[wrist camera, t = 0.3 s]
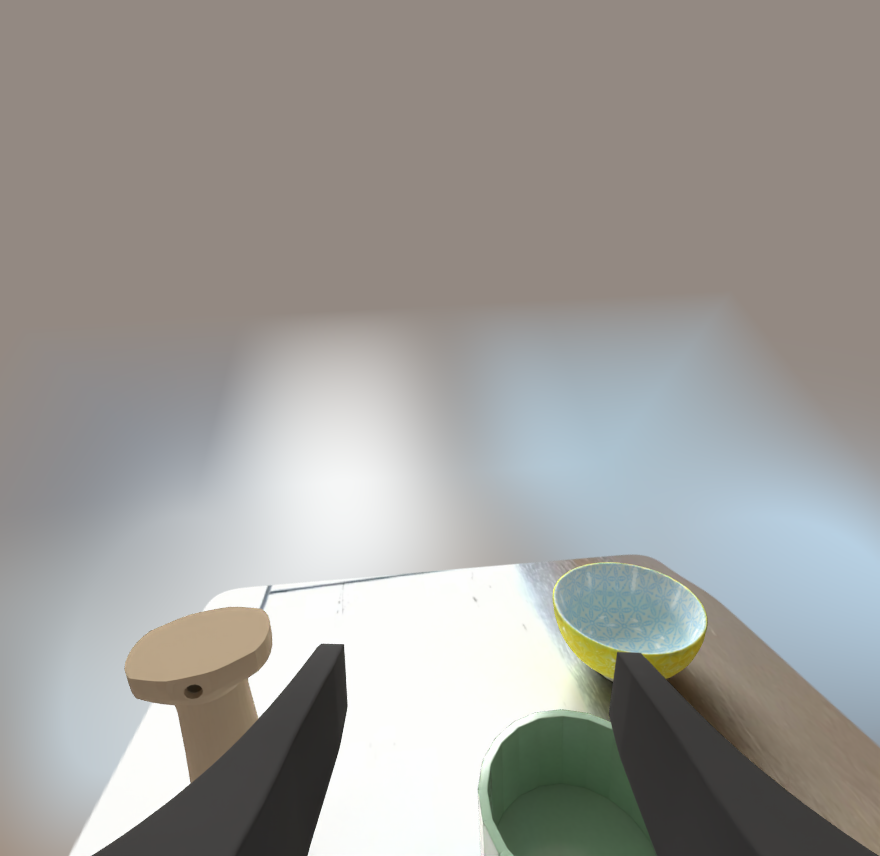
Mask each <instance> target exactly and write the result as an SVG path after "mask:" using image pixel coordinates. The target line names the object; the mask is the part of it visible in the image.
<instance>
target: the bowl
mask: <svg viewBox="0 0 880 856" xmlns="http://www.w3.org/2000/svg"><path fill="white" fill-rule="evenodd" d="M553 605H554V613H555V617H556V620H557V623H558V626H559V629H560V632H561V634H562V636H563V638H564V639H565V641H566V643H567V644H568V646H569V647H570V648H571V650H572V651H573V652H574V653H575V654H576V655H577V657H578V658H579V659H580V660H581V661H583V662H584V663H585V664H587V665H588V666H589V667H591V668H592V669H594V670H595V671H597V672H598V673H600V674H602V675H603V676H604V677H605V678H607V679H609V680H610V681H612V682H613V679H614V672H615V664H616V656H617V652H636V653H641V654H642V655H643V656H644V657H645V658H646V659H647V660H648V661H649V662H650V663H651V664H652V665H653V666H654V667H655V668H656V669H657V670H658V671H659V672H660V674H661V675H662V676H663V677H664V678H665V679H667V678H670V677H672V676H674V675H675V674H677V673H679V672H680V671H682V670H683V669H684V668H685V667H686V666H688V665H689V664H690V663H691V661H692V660H693V659H694V657H695V656H696V654H697V653H698V651H699V649H700V647H701V645H702V643H703V641H704V637H705V633H706V630H707V623H708V622H707V615H706V612H705V609H704V607H703V605H702V604H701V602H700V601H699V599H698V598H697V597H696V596H695V595H694V594H693V593H692V592H691V591H690V590H689V589H688V588H686V587H685V586H684V585H682V584H681V583H679V582H678V581H676V580H674V579H673V578H671V577H669V576H667V575H664V574H662V573H660V572H657V571H654V570H651V569H648V568H645V567H641V566H636V565H631V564H624V563H612V562H603V563H594V564H588V565H584V566H580V567H578V568H575V569H573V570H571V571H569V572H567V573H566V574H564V575H563V576H562V577H561V578H560V579H559V580H558V582H557V583H556V585H555V588H554V590H553Z"/></svg>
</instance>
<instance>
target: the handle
mask: <svg viewBox="0 0 880 856" xmlns="http://www.w3.org/2000/svg"><path fill="white" fill-rule="evenodd" d="M271 648H272V632H271V626H270V621H269V617H268V615H267V614H266V612H265V611H263V610H262V609H257V608H246V607H227V608H220V609H214V610H209V611H204V612H199V613H195V614H191V615H188V616H186V617H182V618H180V619H177V620H175V621H172V622H170V623H168V624H165V625H163V626H161V627H158V628H156V629H154V630H151V631H150V632H149V633H147V634H146V635H145V636H143V637H142V638H141V639H140V640H139V641H138V642H137V643H136V644H135V646H134V647H133V648H132V650H131V652H130V653H129V655H128V657H127V660H126V662H125V673H126V676H127V679H128V683H129V686H130V689H131V691H132V693H133V694H134V696H135V697H136V698H137V699H141V700H144V701H149V702H153V703H160V704H167V705H175V707H176V709H177V712H178V717H179V722H180V727H181V732H182V737H183V742H184V747H185V752H186V758H187V764H188V770H189V776H190V782H191V783H192V782H193V781H194V780H195V779H197V778H198V777H199V776H200V775H201V774H202V773H204V772H205V771H206V770H207V769H208V768H209V767H210V766H212V765H213V764H214V763H215V762H216V761H217V760H218V759H219V758H220V757H221V756H222V755H223V754H224V753H226V752H227V751H228V750H229V749H230V748H231V747H232V746H233V745H234V744H235V743H236V742H237V741H238V740H239V739H240V738H241V737H242V736H243V735H244V734H245V733H246V732H247V730H248V729H249V728H250V727H251V726H252V725H253V724H254V723H255V722H256V721H257V720H258V716H257V712H256V709H255V705H254V701H253V698H252V694H251V690H250V687H249V683H248V677H250V676H251V675H253V674H254V673H256V672H257V671H259V669H260V668H261V667H262V666H263V665H264V664H265V662H266V661H267V659H268V657H269V655H270V653H271Z"/></svg>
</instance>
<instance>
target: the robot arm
mask: <svg viewBox="0 0 880 856" xmlns="http://www.w3.org/2000/svg"><path fill="white" fill-rule="evenodd" d="M346 712H347V689H346V672H345V654H344V644H321V645H319V646H318V647H317V648H316V650H315V651H314V652H313V654H312V655H311V656H310V658H309V659H308V660H307V662H306V663H305V664H304V666H303V667H302V668H301V669H300V671H299V672H298V673H297V674H296V676H295V677H294V678H293V679H292V681H291V682H290V683H289V684H288V686H287V687H286V688H285V689H284V690H283V691H282V693H281V694H280V695H279V696H278V697H277V699H276V700H275V701H274V702H273V703H272V704H271V706H270V707H269V708H268V709H267V710H266V711H265V712H264V713H263V714H262V715H261V717H260V718H259V719H258V720H257V721H256V722H255V723H254V724H253V725H252V726H251V727H250V728H249V729H248V730H247V732H246V733H245V734H244V735H243V736H242V737H241V738H240V739H239V740H238V741H237V742H236V743H235V744H234V745H233V746H232V747H231V748H230V749H229V750H228V751H227V752H226V753H224V754H223V755H222V756H221V757H220V758H219V759H218V760H217V761H216V762H215V763H214V764H213V765H212V766H210V767H209V768H208V769H207V770H206V771H205V772H204V773H202V774H201V775H200V776H199V777H198V778H197V779H195V780H194V781H193V782H192V783H191V784H190V785H188V786H187V787H186V788H185V789H184V790H183V791H181V792H180V793H179V794H178V795H176V796H175V797H174V798H173V799H171V800H170V801H169V802H168V803H166V804H165V805H164V806H163V807H161V808H160V809H158V810H157V811H156V812H154V813H153V814H152V815H150V816H149V817H148V818H146V819H145V820H144V821H142V822H141V823H140V824H138V825H137V826H135V827H134V828H133V829H131V830H130V831H128V832H127V833H125V834H124V835H123V836H121V837H120V838H118V839H117V840H115V841H114V842H112V843H111V844H109V845H108V846H106V847H105V848H103V849H102V850H100V851H98V852H97V853H95V854H94V855H92V856H307V855H308V852H309V848H310V844H311V841H312V838H313V834H314V831H315V828H316V824H317V821H318V818H319V815H320V811H321V808H322V805H323V801H324V798H325V795H326V792H327V788H328V785H329V782H330V778H331V775H332V772H333V768H334V765H335V762H336V758H337V755H338V751H339V748H340V743H341V738H342V733H343V728H344V723H345V717H346ZM609 717H610V721H611V725H612V729H613V733H614V737H615V741H616V745H617V748H618V752H619V756H620V759H621V762H622V764H623V767H624V770H625V772H626V775H627V778H628V780H629V783H630V786H631V789H632V791H633V794H634V796H635V799H636V802H637V804H638V807H639V810H640V812H641V815H642V818H643V820H644V823H645V825H646V828H647V831H648V833H649V836H650V839H651V841H652V844H653V846H654V849H655V852H656V854H657V856H878V855H877V854H875V853H874V852H872V851H871V850H869V849H867V848H866V847H864V846H863V845H861V844H860V843H859V842H857V841H856V840H854V839H853V838H851V837H850V836H848V835H847V834H845V833H844V832H842V831H841V830H839V829H838V828H837V827H835V826H834V825H832V824H831V823H830V822H828V821H827V820H825V819H824V818H823V817H821V816H820V815H819V814H817V813H816V812H814V811H813V810H812V809H810V808H809V807H807V806H806V805H805V804H803V803H802V802H801V801H800V800H798V799H797V798H796V797H794V796H793V795H792V794H790V793H789V792H788V791H786V790H785V789H784V788H783V787H782V786H780V785H779V784H778V783H777V782H775V781H774V780H773V779H772V778H770V777H769V776H768V775H767V774H765V773H764V772H763V771H762V770H761V769H759V768H758V767H757V766H756V765H755V764H753V763H752V762H751V761H750V760H749V759H748V758H746V757H745V756H744V755H743V754H742V753H741V752H740V751H739V750H737V749H736V748H735V747H734V746H733V745H732V744H731V743H730V742H729V741H728V740H726V739H725V738H724V737H723V736H722V735H721V734H720V733H719V732H718V731H717V730H716V729H715V728H714V727H713V726H711V725H710V724H709V723H708V722H707V721H706V720H705V719H704V718H703V717H702V716H701V715H700V714H699V713H698V712H697V711H696V710H695V709H694V708H693V707H692V706H691V705H690V704H689V703H688V702H687V701H686V700H685V699H684V698H683V697H682V696H681V695H680V694H679V692H678V691H677V690H676V689H675V688H674V687H673V686H672V685H671V684H670V683H669V682H668V681H667V680H666V679H665V678H664V677H663V676H662V675H661V674H660V672H659V671H658V670H657V669H656V668H655V667H654V666H653V665H652V664H651V663H650V662H649V661H648V660H647V659H646V658H645V657H644V656H643V655H642V654H641V653H636V652H617V656H616V664H615V672H614V679H613V687H612V694H611V702H610V710H609Z"/></svg>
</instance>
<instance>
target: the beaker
mask: <svg viewBox="0 0 880 856" xmlns="http://www.w3.org/2000/svg"><path fill="white" fill-rule="evenodd" d="M478 805H479V827H480V849H481V856H657V854H656V852H655V849H654V846H653V844H652V841H651V839H650V836H649V833H648V831H647V828H646V825H645V823H644V820H643V818H642V815H641V812H640V810H639V807H638V804H637V802H636V799H635V796H634V794H633V791H632V789H631V786H630V783H629V780H628V778H627V775H626V772H625V770H624V767H623V764H622V762H621V759H620V756H619V752H618V748H617V745H616V741H615V737H614V733H613V729H612V725H611V722H610V721H607V720H605V719H602V718H599V717H597V716H594V715H592V714H588V713H584V712H577V711H570V710H563V709H562V710H561V709H560V710H552V711H543V712H536V713H533V714H531V715H529V716H526V717H524V718H522V719H519V720H517V721H515V722H513V723H512V724H511V725H509V726H508V727H507V728H506V729H505V730H504V731H503V732H502V733H501V734H499V735H498V736H497V737H496V738H495V739H494V741H493V743H492V745H491V747H490V748H489V750H488V752H487V754H486V756H485V758H484V759H483V762H482V766H481V773H480V779H479V785H478Z"/></svg>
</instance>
